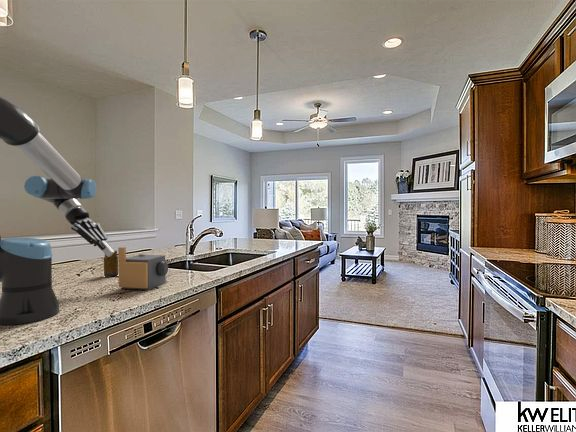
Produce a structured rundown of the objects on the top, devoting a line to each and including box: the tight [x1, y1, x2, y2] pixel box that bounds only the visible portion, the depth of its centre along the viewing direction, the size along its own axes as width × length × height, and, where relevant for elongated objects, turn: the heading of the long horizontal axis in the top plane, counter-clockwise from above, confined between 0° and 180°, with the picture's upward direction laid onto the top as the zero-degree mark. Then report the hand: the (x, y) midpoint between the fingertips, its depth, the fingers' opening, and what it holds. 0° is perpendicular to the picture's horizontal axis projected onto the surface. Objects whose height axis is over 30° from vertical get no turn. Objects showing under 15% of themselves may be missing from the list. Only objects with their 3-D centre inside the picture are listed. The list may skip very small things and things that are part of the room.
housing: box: [121, 253, 169, 291], centre depth 132 cm, size 12×14×13 cm
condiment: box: [103, 250, 119, 278], centre depth 152 cm, size 7×8×12 cm
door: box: [117, 246, 148, 288], centre depth 126 cm, size 1×12×16 cm, turn 80°
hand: (111, 254), depth 127 cm, fingers closed
